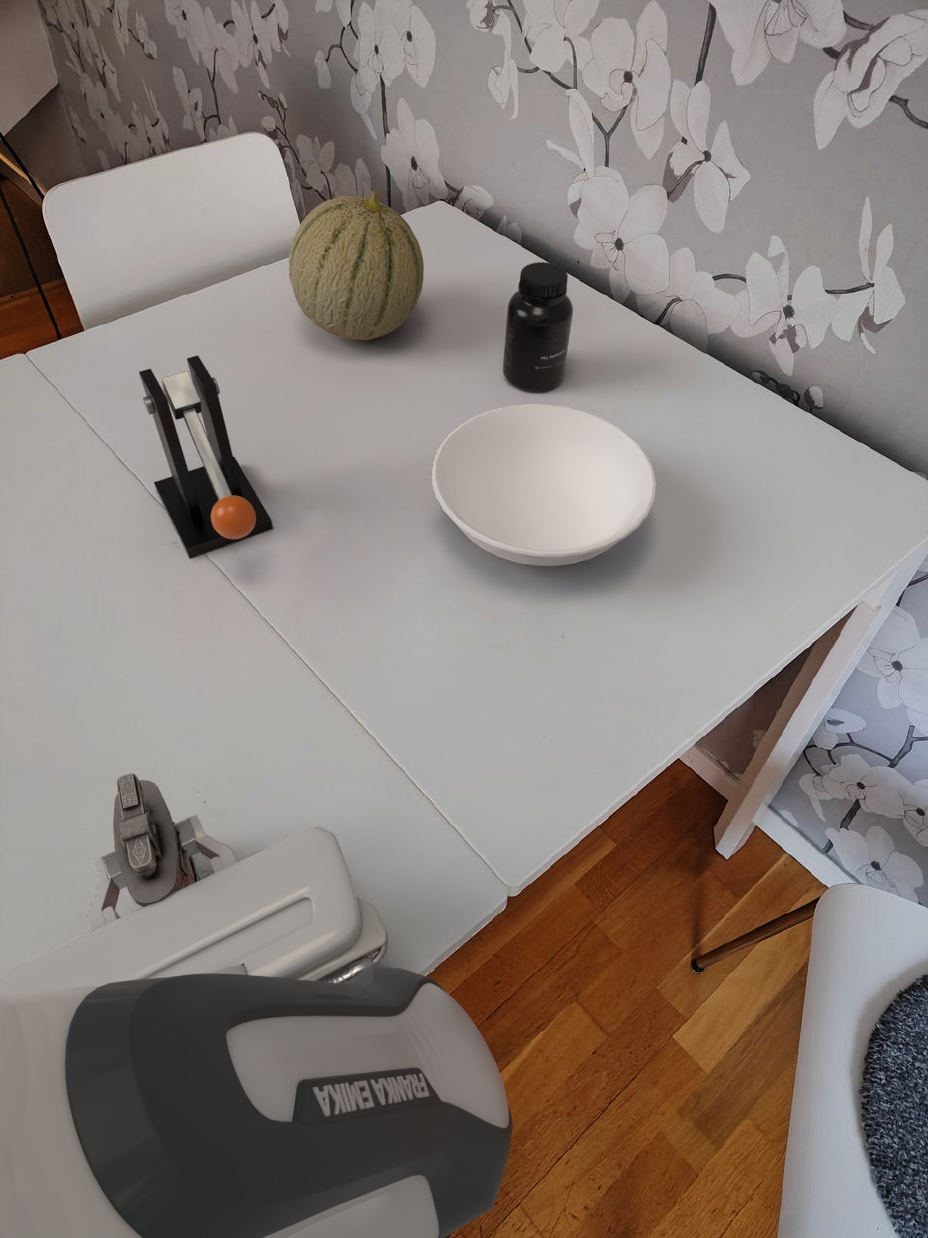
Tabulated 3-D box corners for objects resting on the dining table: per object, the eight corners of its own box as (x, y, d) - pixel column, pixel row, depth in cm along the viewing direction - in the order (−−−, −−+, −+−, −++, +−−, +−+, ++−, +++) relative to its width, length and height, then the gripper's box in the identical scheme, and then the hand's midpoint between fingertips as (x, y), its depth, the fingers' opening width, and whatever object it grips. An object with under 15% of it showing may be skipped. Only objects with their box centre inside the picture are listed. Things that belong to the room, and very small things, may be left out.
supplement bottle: (551, 400, 93) (563, 298, 84) (492, 383, 95) (498, 281, 86) (573, 366, 97) (587, 265, 88) (517, 350, 99) (524, 249, 90)
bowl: (468, 437, 89) (470, 385, 84) (660, 479, 86) (673, 428, 81) (401, 573, 77) (398, 522, 72) (621, 629, 74) (633, 579, 69)
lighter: (212, 936, 55) (175, 872, 47) (157, 956, 54) (111, 893, 46) (188, 826, 60) (151, 751, 52) (138, 843, 59) (93, 769, 51)
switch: (261, 535, 74) (264, 524, 70) (220, 549, 73) (221, 539, 69) (196, 382, 74) (196, 364, 71) (155, 394, 73) (152, 377, 70)
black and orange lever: (273, 528, 80) (245, 396, 69) (189, 558, 78) (145, 426, 66) (236, 465, 86) (204, 332, 74) (156, 491, 83) (110, 358, 72)
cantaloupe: (271, 335, 100) (248, 205, 88) (353, 281, 108) (342, 155, 96) (370, 382, 95) (360, 250, 83) (450, 321, 102) (450, 193, 91)
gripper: (399, 940, 47) (300, 744, 54) (0, 1155, 40) (-50, 897, 47) (402, 977, 52) (311, 792, 59) (47, 1174, 45) (-4, 937, 52)
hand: (148, 840), depth 53 cm, fingers closed on lighter, 3 cm apart
